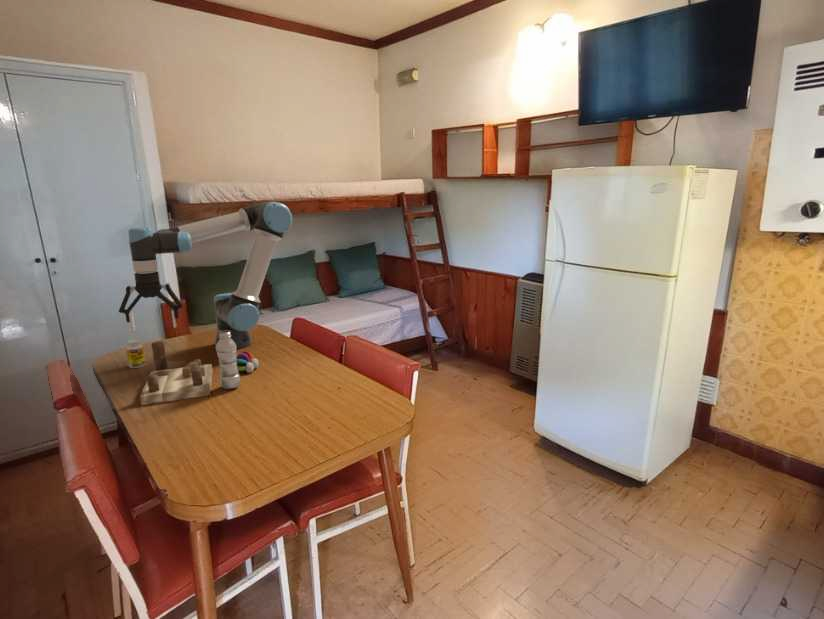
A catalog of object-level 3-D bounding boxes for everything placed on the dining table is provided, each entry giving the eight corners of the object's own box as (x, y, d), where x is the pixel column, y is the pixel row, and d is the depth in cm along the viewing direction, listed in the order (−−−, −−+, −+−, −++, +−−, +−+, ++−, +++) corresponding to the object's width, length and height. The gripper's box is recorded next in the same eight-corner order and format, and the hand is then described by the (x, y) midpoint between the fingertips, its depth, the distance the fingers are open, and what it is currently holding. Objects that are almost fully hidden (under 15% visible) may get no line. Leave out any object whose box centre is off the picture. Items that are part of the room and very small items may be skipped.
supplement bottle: (131, 369, 174) (126, 344, 172) (127, 365, 178) (123, 340, 175) (147, 365, 178) (143, 340, 175) (143, 362, 182) (139, 337, 179)
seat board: (212, 371, 172) (210, 351, 170) (209, 395, 152) (207, 372, 150) (152, 379, 165) (149, 358, 163) (141, 405, 145) (137, 381, 143)
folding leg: (195, 366, 168) (194, 359, 167) (202, 366, 168) (201, 359, 167) (182, 376, 159) (181, 368, 158) (190, 376, 159) (189, 368, 158)
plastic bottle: (234, 392, 154) (228, 335, 149) (216, 390, 155) (209, 334, 150) (245, 384, 160) (239, 329, 155) (227, 382, 162) (221, 328, 157)
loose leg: (168, 368, 176) (164, 340, 173) (167, 371, 172) (162, 344, 169) (156, 369, 174) (152, 342, 171) (155, 373, 171) (150, 345, 168)
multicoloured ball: (261, 366, 177) (259, 348, 175) (250, 375, 168) (248, 357, 166) (240, 365, 178) (238, 347, 176) (228, 375, 169) (225, 356, 167)
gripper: (185, 268, 171) (192, 322, 176) (108, 272, 163) (117, 329, 168) (183, 271, 164) (191, 327, 170) (102, 275, 156) (112, 335, 161)
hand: (154, 328), depth 169 cm, fingers open, 13 cm apart
